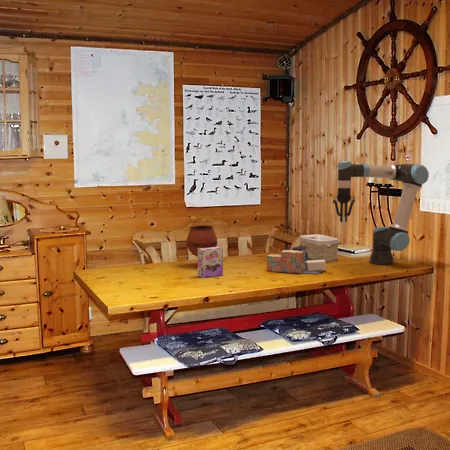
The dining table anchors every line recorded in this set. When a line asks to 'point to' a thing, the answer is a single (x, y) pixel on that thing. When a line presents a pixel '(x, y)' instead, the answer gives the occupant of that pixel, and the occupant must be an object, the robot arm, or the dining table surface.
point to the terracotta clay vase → (201, 239)
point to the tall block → (315, 265)
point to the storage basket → (320, 247)
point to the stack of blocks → (286, 261)
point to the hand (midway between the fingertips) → (343, 227)
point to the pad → (312, 272)
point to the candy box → (210, 262)
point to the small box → (302, 248)
